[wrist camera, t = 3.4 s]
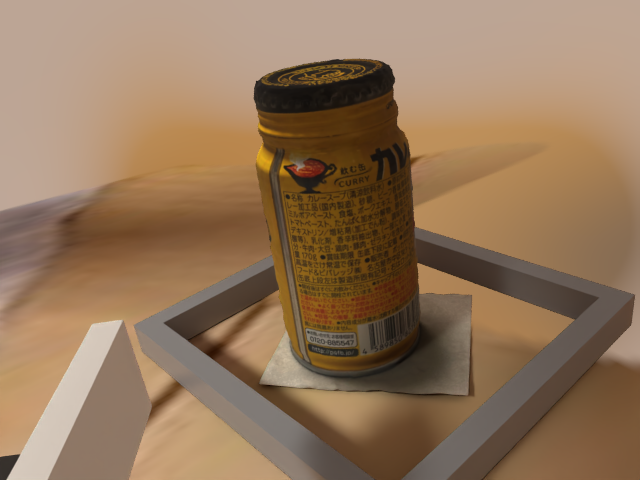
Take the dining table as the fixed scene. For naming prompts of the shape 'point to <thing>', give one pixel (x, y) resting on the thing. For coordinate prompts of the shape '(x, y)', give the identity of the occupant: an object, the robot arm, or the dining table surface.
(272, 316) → the dining table surface
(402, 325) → the yellow cylindrical jar
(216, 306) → the square collar
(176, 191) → the dining table surface
